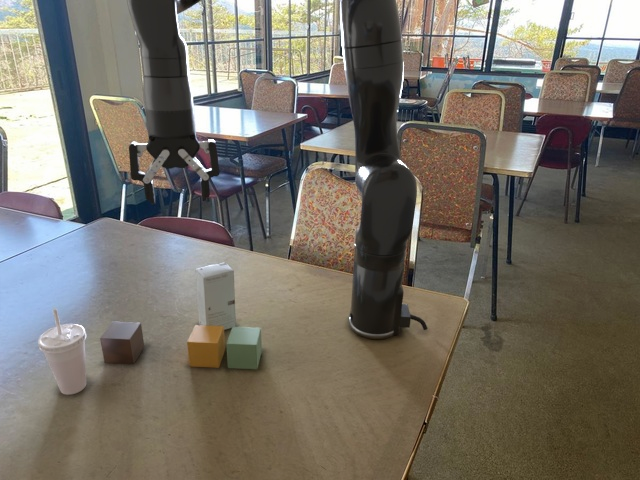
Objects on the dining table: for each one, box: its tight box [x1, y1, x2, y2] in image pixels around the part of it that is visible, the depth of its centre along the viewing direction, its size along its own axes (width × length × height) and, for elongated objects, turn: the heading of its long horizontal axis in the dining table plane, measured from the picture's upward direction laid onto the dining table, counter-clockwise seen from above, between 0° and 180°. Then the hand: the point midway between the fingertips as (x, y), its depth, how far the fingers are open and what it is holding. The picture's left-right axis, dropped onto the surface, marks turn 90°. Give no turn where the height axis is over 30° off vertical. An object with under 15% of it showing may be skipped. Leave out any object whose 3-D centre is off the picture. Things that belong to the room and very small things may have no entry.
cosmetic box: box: [195, 262, 237, 331], centre depth 90 cm, size 6×4×12 cm
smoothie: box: [37, 307, 87, 396], centre depth 73 cm, size 6×6×14 cm
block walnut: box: [99, 321, 145, 365], centre depth 82 cm, size 5×5×5 cm
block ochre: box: [186, 324, 226, 369], centre depth 82 cm, size 5×5×5 cm
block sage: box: [225, 326, 263, 370], centre depth 82 cm, size 5×5×5 cm
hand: (178, 201), depth 83 cm, fingers open, 8 cm apart
